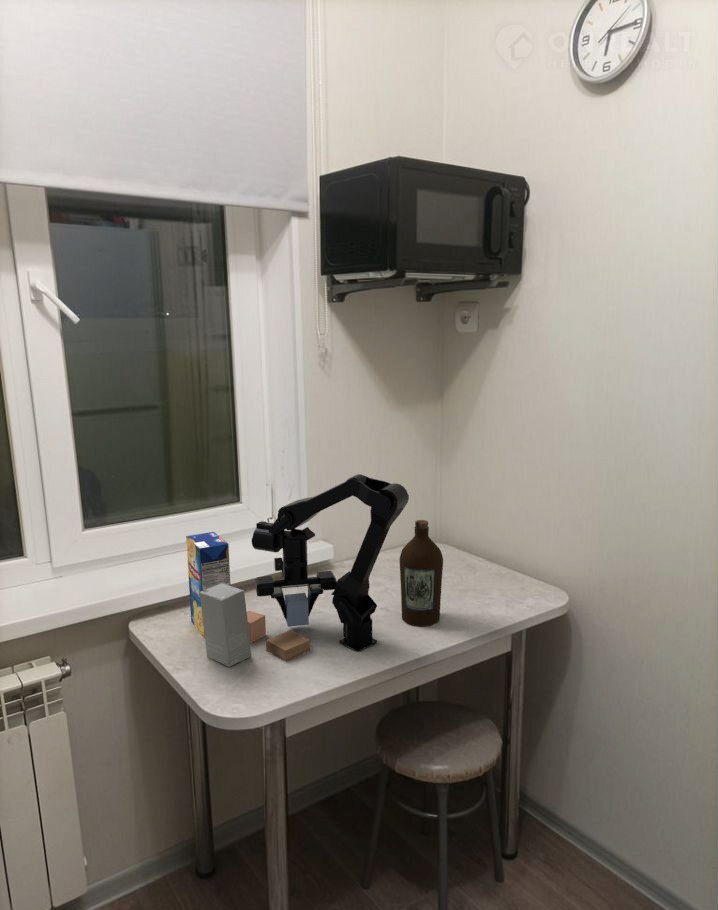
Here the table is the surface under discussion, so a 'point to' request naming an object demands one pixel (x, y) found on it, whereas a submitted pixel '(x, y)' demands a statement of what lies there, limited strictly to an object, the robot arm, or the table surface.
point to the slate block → (297, 609)
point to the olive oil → (421, 578)
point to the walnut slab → (288, 645)
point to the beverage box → (205, 569)
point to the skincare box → (225, 624)
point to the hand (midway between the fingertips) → (296, 617)
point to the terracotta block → (256, 625)
